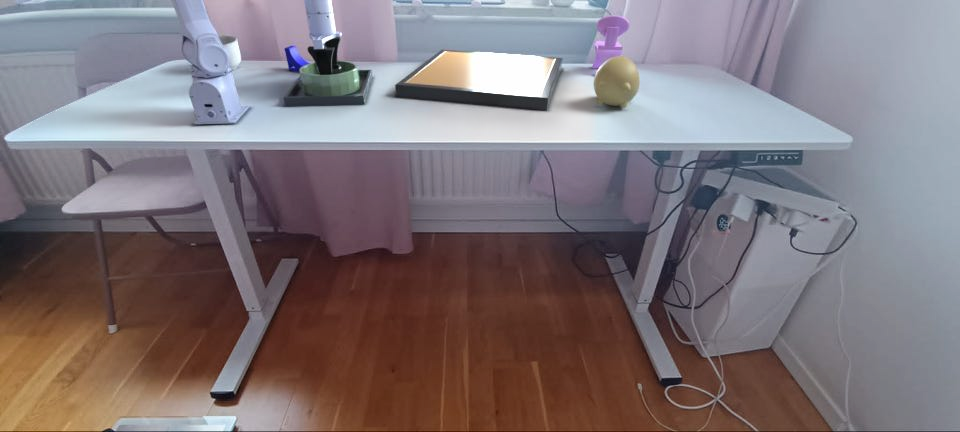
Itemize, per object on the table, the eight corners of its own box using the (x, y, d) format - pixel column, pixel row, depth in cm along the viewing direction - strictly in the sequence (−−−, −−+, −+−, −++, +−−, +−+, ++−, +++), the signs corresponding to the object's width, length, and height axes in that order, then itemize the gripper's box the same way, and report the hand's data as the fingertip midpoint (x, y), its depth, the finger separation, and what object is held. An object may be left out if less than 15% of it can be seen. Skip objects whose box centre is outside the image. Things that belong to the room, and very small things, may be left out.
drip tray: (364, 104, 103) (363, 95, 102) (285, 106, 102) (283, 97, 100) (372, 77, 121) (371, 69, 120) (305, 78, 119) (303, 70, 118)
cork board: (442, 59, 137) (396, 96, 108) (441, 49, 135) (395, 84, 106) (561, 68, 130) (546, 110, 101) (562, 58, 128) (547, 98, 99)
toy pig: (631, 121, 106) (641, 81, 108) (636, 94, 95) (648, 50, 97) (588, 114, 109) (600, 75, 111) (588, 86, 97) (601, 43, 100)
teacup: (252, 65, 129) (244, 35, 125) (230, 76, 120) (221, 44, 116) (205, 63, 131) (196, 33, 126) (180, 74, 121) (170, 42, 117)
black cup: (342, 91, 109) (339, 70, 106) (318, 92, 108) (314, 70, 106) (345, 84, 114) (342, 63, 111) (322, 84, 113) (318, 64, 110)
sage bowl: (357, 98, 106) (354, 75, 103) (298, 100, 105) (293, 76, 102) (363, 81, 117) (360, 59, 114) (310, 83, 116) (305, 60, 113)
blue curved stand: (337, 70, 126) (333, 47, 123) (327, 75, 122) (323, 51, 119) (299, 66, 129) (294, 44, 125) (289, 70, 125) (284, 48, 122)
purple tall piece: (617, 68, 131) (627, 11, 123) (622, 77, 123) (632, 17, 115) (587, 67, 131) (595, 10, 123) (590, 75, 124) (599, 16, 116)
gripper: (332, 17, 96) (342, 82, 103) (342, 6, 108) (350, 65, 115) (298, 17, 95) (310, 83, 103) (311, 6, 107) (322, 65, 115)
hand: (329, 73), depth 109 cm, fingers open, 7 cm apart
